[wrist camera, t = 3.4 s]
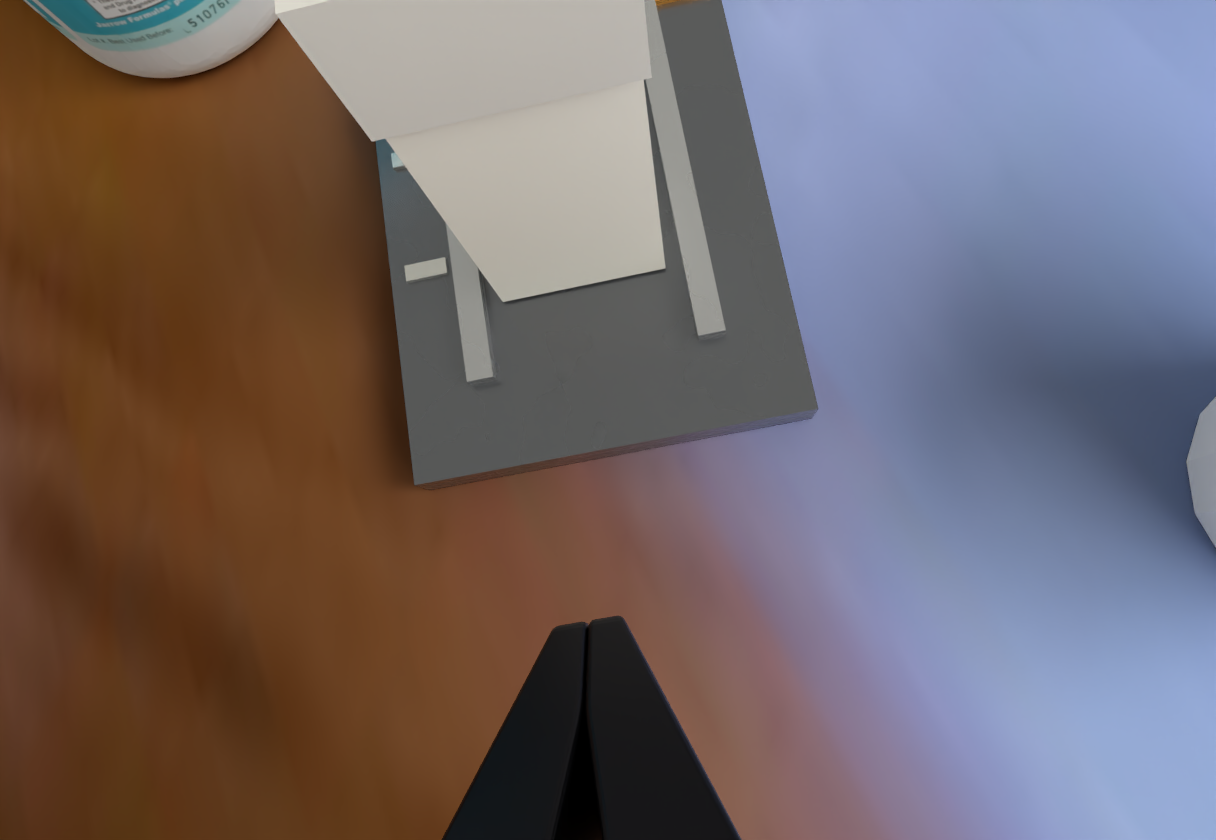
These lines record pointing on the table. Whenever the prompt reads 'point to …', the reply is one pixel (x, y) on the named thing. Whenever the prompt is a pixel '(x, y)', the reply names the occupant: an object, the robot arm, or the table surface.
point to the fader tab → (507, 124)
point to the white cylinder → (1204, 470)
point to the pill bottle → (160, 31)
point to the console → (609, 301)
